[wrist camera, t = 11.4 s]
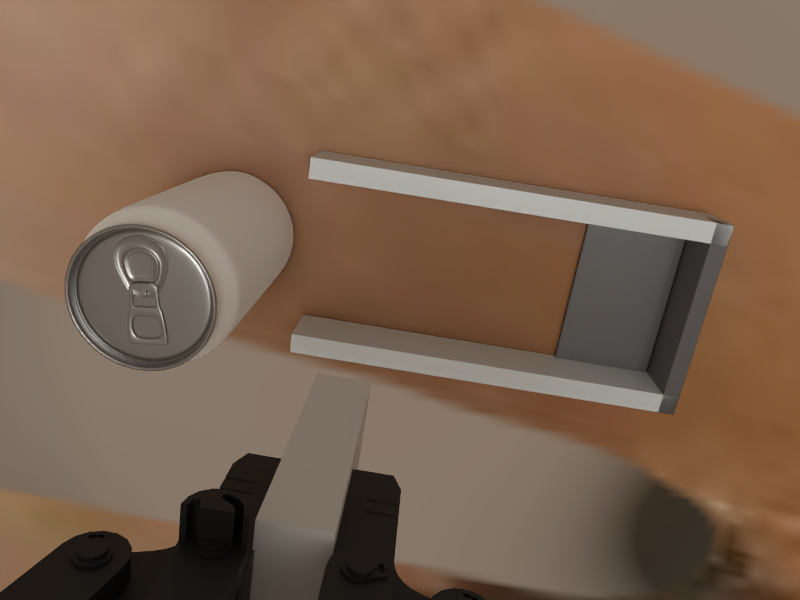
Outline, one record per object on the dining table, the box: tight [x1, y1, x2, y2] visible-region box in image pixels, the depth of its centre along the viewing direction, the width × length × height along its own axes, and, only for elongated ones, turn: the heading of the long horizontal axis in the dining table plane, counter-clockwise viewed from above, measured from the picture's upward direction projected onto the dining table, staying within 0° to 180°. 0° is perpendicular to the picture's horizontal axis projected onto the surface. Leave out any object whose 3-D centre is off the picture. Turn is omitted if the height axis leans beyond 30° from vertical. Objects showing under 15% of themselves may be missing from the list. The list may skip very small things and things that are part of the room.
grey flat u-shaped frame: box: [290, 151, 734, 415], centre depth 34 cm, size 20×10×3 cm, turn 81°
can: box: [65, 171, 293, 371], centre depth 30 cm, size 6×6×12 cm
